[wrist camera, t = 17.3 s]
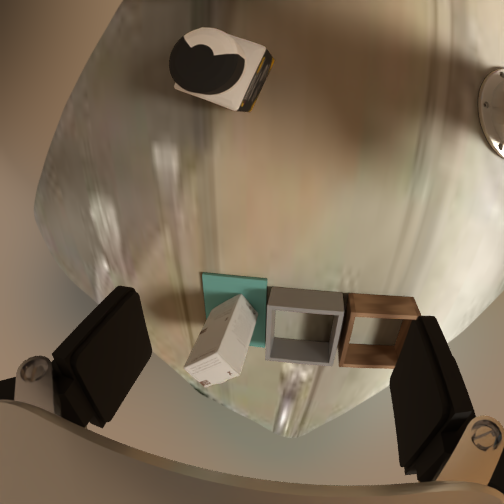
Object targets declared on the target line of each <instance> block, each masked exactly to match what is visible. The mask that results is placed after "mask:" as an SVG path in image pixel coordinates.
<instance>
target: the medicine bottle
mask: <svg viewBox="0 0 504 504" xmlns="http://www.w3.org/2000/svg"><path fill="white" fill-rule="evenodd" d="M273 63H274V58H273V57H272V56H271V54H270V53H269V51H268V50H267V49H266V47H265V46H263V45H260V44H257V43H254V42H252V41H249V40H246V39H242V38H239V37H236V36H233V35H230V34H226V33H225V32H223V31H221V30H219V29H216V28H205V27H201V28H199V29H196V30H193V31H191V32H189V33H187V34H186V35H184V36H183V37H182V38H181V39H180V40H179V41H178V42H177V43H176V45H175V46H174V48H173V50H172V52H171V55H170V60H169V68H170V73H171V75H172V78H173V79H174V81H175V82H176V83H175V85H174V88H175V89H176V90H179V91H182V92H185V93H188V94H191V95H194V96H196V97H199V98H202V99H205V100H207V101H210V102H213V103H215V104H218V105H220V106H223V107H226V108H228V109H231V110H233V111H244V112H250V111H251V110H252V108H253V106H254V104H255V102H256V100H257V97H258V95H259V93H260V91H261V89H262V87H263V84H264V82H265V80H266V78H267V76H268V74H269V72H270V70H271V67H272V65H273Z"/></svg>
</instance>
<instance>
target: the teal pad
mask: <svg viewBox="0 0 504 504" xmlns="http://www.w3.org/2000/svg"><path fill="white" fill-rule="evenodd" d="M202 279H203V290H204V301H205V311H206V320H207V318H208V316H209V314H210V312H211V310H212V309H214V308H215V307H217V306H218V305H220V304H222V303H223V302H225V301H227V300H229V299H231V298H233V297H234V296H236V295H239V294H242V295H243V296H244V297H245V298H246V299H247V300H248V302H249V303H250V304H251V305H252V306H253V308H254V309H255V310H256V311H257V312H258V317H257V321H256V324H255V327H254V331H253V334H252V337H251V341H250V344H249V346H255V347H263V348H265V338H266V305H267V278H256V277H246V276H235V275H225V274H215V273H205V272H203V274H202Z"/></svg>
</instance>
